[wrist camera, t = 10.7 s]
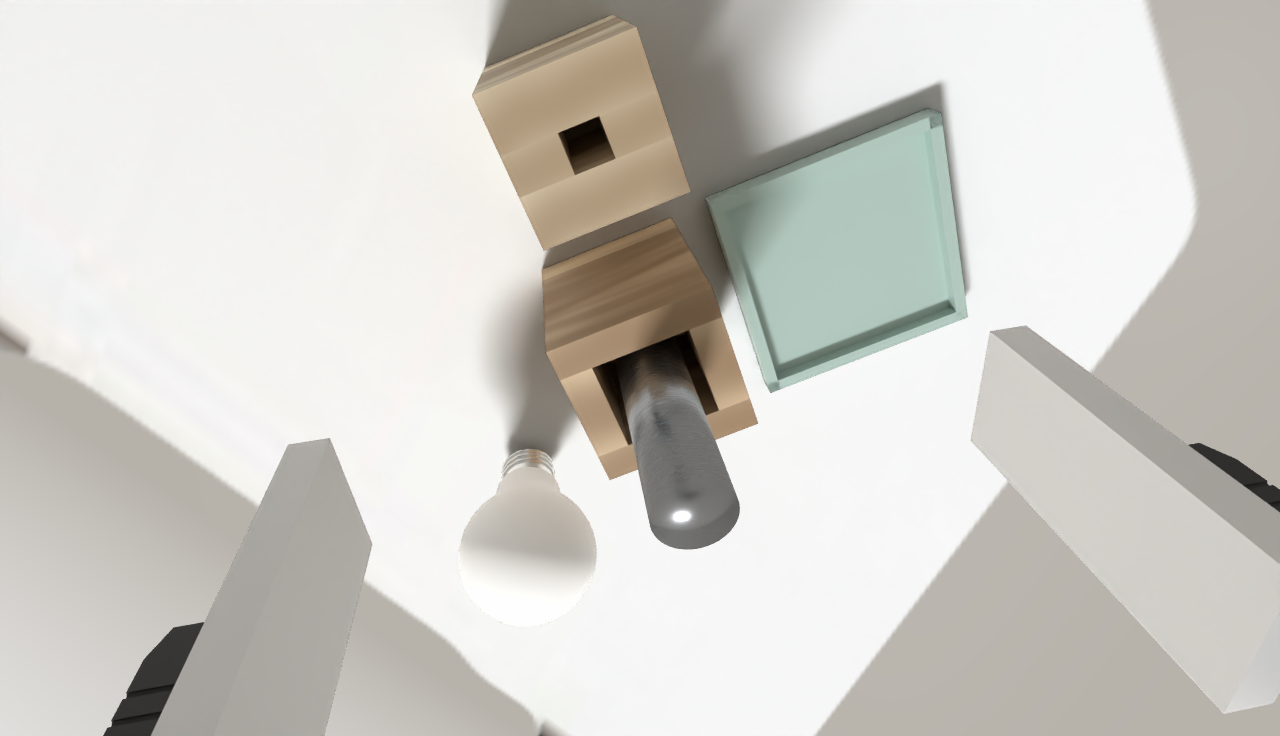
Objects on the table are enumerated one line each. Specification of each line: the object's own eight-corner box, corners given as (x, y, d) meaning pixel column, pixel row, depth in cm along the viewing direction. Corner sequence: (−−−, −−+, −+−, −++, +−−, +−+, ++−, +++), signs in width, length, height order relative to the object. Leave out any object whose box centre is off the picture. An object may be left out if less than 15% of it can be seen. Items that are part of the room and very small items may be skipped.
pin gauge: (597, 301, 35) (636, 499, 23) (653, 280, 35) (725, 466, 22) (618, 350, 37) (666, 561, 24) (672, 329, 37) (750, 530, 24)
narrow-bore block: (484, 67, 31) (471, 95, 24) (612, 14, 31) (636, 26, 24) (540, 194, 34) (543, 250, 27) (657, 146, 34) (690, 191, 27)
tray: (705, 197, 35) (710, 204, 34) (928, 108, 34) (940, 112, 33) (764, 382, 41) (770, 392, 40) (956, 308, 40) (967, 317, 39)
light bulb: (585, 410, 40) (603, 546, 31) (585, 502, 43) (601, 651, 34) (465, 415, 39) (445, 557, 30) (474, 508, 42) (459, 663, 33)
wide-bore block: (541, 269, 36) (545, 352, 28) (671, 217, 35) (712, 286, 28) (593, 379, 39) (609, 480, 31) (712, 332, 39) (758, 423, 31)
